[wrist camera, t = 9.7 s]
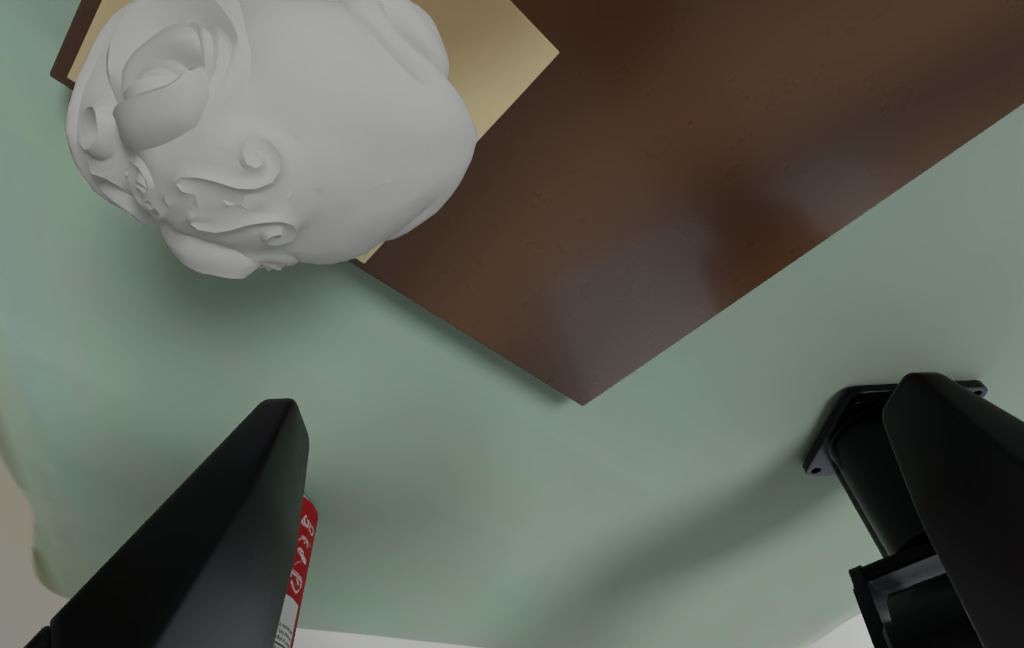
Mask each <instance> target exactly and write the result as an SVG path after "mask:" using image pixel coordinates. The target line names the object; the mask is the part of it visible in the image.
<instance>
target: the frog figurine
mask: <svg viewBox="0 0 1024 648" xmlns="http://www.w3.org/2000/svg"><path fill="white" fill-rule="evenodd" d="M448 75H449V60H448V56H447V52H446V50H445V47H444V44H443V41H442V39H441V36H440V34H439V32H438V29H437V27H436V24H435V23H434V21H433V20H432V18H431V17H430V15H429V14H428V13H426V12H425V11H424V10H423V9H422V8H421V7H420V6H418V5H416V4H414V3H413V2H411V1H410V0H132V1H131V2H130V3H128V4H127V5H125V6H124V7H123V8H121V9H120V10H118V11H117V12H115V13H114V14H113V15H112V16H111V17H110V19H109V20H108V21H107V23H106V24H105V25H104V27H103V28H102V29H101V31H100V32H99V34H98V36H97V38H96V39H95V41H94V43H93V45H92V46H91V48H90V50H89V53H88V55H87V58H86V60H85V63H84V65H83V67H82V69H81V71H80V73H79V75H78V77H77V79H76V83H75V86H74V89H73V93H72V96H71V99H70V102H69V106H68V109H67V117H66V127H65V132H66V136H67V140H68V144H69V148H70V152H71V155H72V157H73V160H74V162H75V164H76V166H77V168H78V169H79V171H80V172H81V174H82V175H83V176H84V178H85V179H86V181H87V182H88V183H89V185H90V186H91V188H92V189H93V191H94V192H96V193H97V194H99V195H100V196H101V197H103V198H104V199H106V200H107V201H108V202H110V203H111V204H113V205H115V206H117V207H119V208H121V209H123V210H125V211H127V212H129V213H130V214H131V215H132V216H133V217H135V218H136V219H137V220H138V221H140V222H141V223H142V224H143V225H145V224H147V223H150V222H152V223H155V224H157V226H158V228H159V229H160V231H161V234H162V237H163V239H164V241H165V242H166V244H167V245H168V247H169V248H170V250H171V251H172V252H173V254H174V255H175V256H176V257H177V258H178V259H179V260H180V261H181V262H182V263H183V264H184V265H185V266H187V267H189V268H191V269H193V270H195V271H197V272H199V273H203V274H209V275H214V276H219V277H224V278H231V279H243V278H245V277H247V276H248V275H250V274H251V273H252V272H253V271H254V270H256V269H257V268H259V269H261V268H265V269H266V270H267V271H270V270H272V269H276V270H279V271H280V270H281V269H282V268H283V267H290V266H294V265H295V264H296V263H298V262H299V261H300V262H303V263H305V264H312V263H313V264H321V265H325V264H336V263H338V262H345V261H348V260H350V259H355V258H357V257H358V256H361V255H365V254H367V253H368V252H369V251H370V250H371V249H373V248H375V247H377V246H378V245H379V244H381V243H383V242H384V241H387V240H393V239H396V238H398V237H400V236H402V235H404V234H406V233H408V232H409V231H411V230H412V229H414V228H415V227H417V226H418V225H420V224H421V223H423V222H424V221H426V220H427V219H428V218H430V217H431V216H432V215H434V214H435V213H437V212H438V210H439V209H440V208H441V207H442V206H443V205H444V204H445V202H446V201H447V200H448V199H449V198H450V197H451V196H452V194H453V193H454V191H455V190H456V189H457V187H458V186H459V184H460V183H461V181H462V179H463V177H464V175H465V173H466V171H467V168H468V166H469V164H470V162H471V160H472V157H473V153H474V149H475V146H476V142H477V139H478V134H477V130H476V126H475V124H474V122H473V120H472V117H471V115H470V113H469V111H468V109H467V106H466V104H465V102H464V101H463V99H462V98H461V96H460V95H459V94H458V92H457V91H456V90H455V88H454V87H453V85H452V84H451V83H450V82H449V81H448Z"/></svg>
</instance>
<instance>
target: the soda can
mask: <svg viewBox="0 0 1024 648" xmlns="http://www.w3.org/2000/svg"><path fill="white" fill-rule="evenodd" d="M317 521H318V513H317V511H316V509H315V507H314V505H313V504H312V503H311V502H310V501H309V499H308V498H307V497H306V496H305V495H304V494H303V503H302V511H301V519H300V527H299V535H298V542H297V549H296V553H295V558H294V563H293V567H292V571H291V575H290V580H289V584H288V588H287V592H286V596H285V600H284V604H283V608H282V613H281V617H280V621H279V625H278V629H277V633H276V637H275V642H274V646H273V648H292V647H293V642H294V637H295V632H296V627H297V622H298V617H299V612H300V607H301V602H302V597H303V592H304V587H305V582H306V577H307V571H308V566H309V561H310V556H311V551H312V546H313V541H314V536H315V531H316V526H317Z"/></svg>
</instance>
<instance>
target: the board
mask: <svg viewBox="0 0 1024 648" xmlns="http://www.w3.org/2000/svg"><path fill="white" fill-rule="evenodd" d="M131 1H132V0H81V2H80V5H79V7H78V9H77V11H76V14H75V16H74V18H73V21H72V23H71V25H70V28H69V30H68V32H67V35H66V37H65V39H64V41H63V44H62V46H61V48H60V51H59V53H58V55H57V58H56V60H55V62H54V65H53V67H52V69H51V71H50V76H51V77H53V78H54V79H56V80H57V81H59V82H61V83H62V84H64V85H65V86H67V87H69V88H70V89H72V90H73V89H74V86H75V83H76V79H77V77H78V75H79V73H80V71H81V69H82V67H83V65H84V63H85V60H86V58H87V55H88V53H89V50H90V48H91V46H92V45H93V43H94V41H95V39H96V38H97V36H98V34H99V32H100V31H101V29H102V28H103V27H104V25H105V24H106V23H107V21H108V20H109V19H110V17H111V16H112V15H113V14H114V13H115V12H117V11H118V10H120V9H121V8H123V7H124V6H125V5H127V4H128V3H130V2H131ZM410 1H411V2H413V3H414V4H416V5H418V6H420V7H421V8H422V9H423V10H424V11H425V12H426V13H428V14H429V15H430V17H431V18H432V20H433V21H434V23H435V24H436V27H437V29H438V32H439V34H440V36H441V39H442V41H443V44H444V47H445V50H446V52H447V56H448V60H449V75H448V81H449V82H450V83H451V84H452V85H453V87H454V88H455V90H456V91H457V92H458V94H459V95H460V96H461V98H462V99H463V101H464V102H465V104H466V106H467V109H468V111H469V113H470V115H471V117H472V120H473V122H474V124H475V126H476V130H477V134H478V139H477V142H476V146H475V149H474V153H473V157H472V160H471V162H470V164H469V166H468V168H467V171H466V173H465V175H464V177H463V179H462V181H461V183H460V184H459V186H458V187H457V189H456V190H455V191H454V193H453V194H452V196H451V197H450V198H449V199H448V200H447V201H446V202H445V204H444V205H443V206H442V207H441V208H440V209H439V210H438V212H437V213H435V214H434V215H432V216H431V217H430V218H428V219H427V220H426V221H424V222H423V223H421V224H420V225H418V226H417V227H415V228H414V229H412V230H411V231H409V232H408V233H406V234H404V235H402V236H400V237H398V238H396V239H393V240H387V241H384V242H383V243H381V244H379V245H378V246H377V247H375V248H373V249H371V250H370V251H369V252H368V253H367V254H365V255H361V256H358V257H357V258H355V259H350V260H348V261H350V262H351V263H353V264H354V265H356V266H358V267H359V268H361V269H363V270H364V271H366V272H367V273H369V274H371V275H372V276H374V277H375V278H377V279H379V280H380V281H382V282H383V283H385V284H387V285H388V286H390V287H392V288H393V289H395V290H396V291H398V292H400V293H401V294H403V295H404V296H406V297H408V298H409V299H411V300H413V301H414V302H416V303H417V304H419V305H421V306H422V307H424V308H425V309H427V310H429V311H430V312H432V313H434V314H435V315H437V316H438V317H440V318H442V319H443V320H445V321H446V322H448V323H450V324H451V325H453V326H455V327H456V328H458V329H459V330H461V331H463V332H464V333H466V334H467V335H469V336H471V337H472V338H474V339H476V340H477V341H479V342H480V343H482V344H484V345H485V346H487V347H488V348H490V349H492V350H493V351H495V352H496V353H498V354H500V355H501V356H503V357H505V358H506V359H508V360H509V361H511V362H513V363H514V364H516V365H517V366H519V367H521V368H522V369H524V370H526V371H527V372H529V373H530V374H532V375H534V376H535V377H537V378H538V379H540V380H542V381H543V382H545V383H547V384H548V385H550V386H551V387H553V388H555V389H556V390H558V391H559V392H561V393H563V394H564V395H566V396H568V397H569V398H571V399H572V400H574V401H576V402H577V403H579V404H580V405H582V406H584V405H585V404H587V403H588V402H590V401H591V400H593V399H594V398H596V397H597V396H599V395H600V394H602V393H603V392H604V391H606V390H607V389H609V388H610V387H612V386H613V385H615V384H616V383H618V382H619V381H620V380H622V379H623V378H625V377H626V376H628V375H629V374H631V373H632V372H634V371H635V370H636V369H638V368H639V367H641V366H642V365H644V364H645V363H647V362H648V361H650V360H651V359H652V358H654V357H655V356H657V355H658V354H660V353H661V352H663V351H664V350H666V349H667V348H668V347H670V346H671V345H673V344H674V343H676V342H677V341H679V340H680V339H682V338H683V337H684V336H686V335H687V334H689V333H690V332H692V331H693V330H695V329H696V328H698V327H699V326H700V325H702V324H703V323H705V322H706V321H708V320H709V319H711V318H712V317H714V316H715V315H716V314H718V313H719V312H721V311H722V310H724V309H725V308H727V307H728V306H730V305H731V304H732V303H734V302H735V301H737V300H738V299H740V298H741V297H743V296H744V295H746V294H747V293H749V292H750V291H751V290H753V289H754V288H756V287H757V286H759V285H760V284H762V283H763V282H765V281H766V280H767V279H769V278H770V277H772V276H773V275H775V274H776V273H778V272H779V271H781V270H782V269H783V268H785V267H786V266H788V265H789V264H791V263H792V262H794V261H795V260H797V259H798V258H799V257H801V256H802V255H804V254H805V253H807V252H808V251H810V250H811V249H813V248H814V247H815V246H817V245H818V244H820V243H821V242H823V241H824V240H826V239H827V238H829V237H830V236H831V235H833V234H834V233H836V232H837V231H839V230H840V229H842V228H843V227H845V226H846V225H847V224H849V223H850V222H852V221H853V220H855V219H856V218H858V217H859V216H861V215H862V214H863V213H865V212H866V211H868V210H869V209H871V208H872V207H874V206H875V205H877V204H878V203H879V202H881V201H882V200H884V199H885V198H887V197H888V196H890V195H891V194H893V193H894V192H896V191H897V190H898V189H900V188H901V187H903V186H904V185H906V184H907V183H909V182H910V181H912V180H913V179H914V178H916V177H917V176H919V175H920V174H922V173H923V172H925V171H926V170H928V169H929V168H930V167H932V166H933V165H935V164H936V163H938V162H939V161H941V160H942V159H944V158H945V157H946V156H948V155H949V154H951V153H952V152H954V151H955V150H957V149H958V148H960V147H961V146H962V145H964V144H965V143H967V142H968V141H970V140H971V139H973V138H974V137H976V136H977V135H978V134H980V133H981V132H983V131H984V130H986V129H987V128H989V127H990V126H992V125H993V124H994V123H996V122H997V121H999V120H1000V119H1002V118H1003V117H1005V116H1006V115H1008V114H1009V113H1010V112H1012V111H1013V110H1015V109H1016V108H1018V107H1019V106H1021V105H1022V104H1024V0H410Z"/></svg>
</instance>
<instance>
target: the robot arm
mask: <svg viewBox="0 0 1024 648" xmlns="http://www.w3.org/2000/svg"><path fill="white" fill-rule="evenodd" d="M987 391H988V389H987V388H986V387H985V385H984V384H983V383H982V382H981V381H978V380H970V381H953V380H951V379H949V378H948V377H946V376H944V375H942V374H940V373H936V372H919V373H909V374H907V375H906V376H904V377H903V379H902V380H901V381H900V383H899V384H885V385H863V386H855V387H852V388H850V389H849V390H847V391H846V392H845V393H844V395H843V397H842V398H841V400H840V402H839V404H838V405H837V407H836V409H835V410H834V412H833V414H832V416H831V417H830V419H829V421H828V423H827V424H826V426H825V428H824V429H823V431H822V433H821V435H820V436H819V438H818V440H817V441H816V443H815V445H814V447H813V448H812V450H811V452H810V453H809V455H808V457H807V459H806V460H805V462H804V464H803V468H804V470H805V472H806V474H807V475H808V476H824V475H837V477H838V478H839V480H840V482H841V484H842V485H843V487H844V489H845V491H846V493H847V494H848V496H849V498H850V500H851V501H852V503H853V505H854V507H855V509H856V510H857V512H858V514H859V516H860V517H861V519H862V521H863V523H864V524H865V526H866V528H867V530H868V532H869V533H870V535H871V537H872V539H873V540H874V542H875V544H876V546H877V548H878V549H879V551H880V553H881V555H882V556H883V559H880V560H878V561H876V562H873V563H871V564H868V565H866V566H863V567H862V566H857V567H855V568H853V569H850V570H849V574H850V577H851V579H852V582H853V585H854V586H853V587H854V589H853V591H854V594H855V597H856V600H857V602H858V605H859V608H860V610H861V613H862V616H863V618H864V621H865V623H866V626H867V629H868V632H869V634H870V637H871V640H872V643H873V645H874V648H1024V422H1023V421H1021V420H1019V419H1018V418H1016V417H1014V416H1013V415H1011V414H1009V413H1007V412H1006V411H1004V410H1002V409H1001V408H999V407H997V406H995V405H994V404H992V403H990V402H989V401H987V400H985V399H984V398H983V397H984V396H985V395H986V393H987ZM308 453H309V437H308V433H307V430H306V427H305V424H304V422H303V419H302V416H301V413H300V411H299V408H298V405H297V403H296V402H295V401H294V400H293V399H290V398H284V399H267V400H264V401H263V402H261V403H260V404H259V405H258V406H257V407H256V408H255V409H254V410H253V411H252V412H251V413H250V414H249V415H248V416H247V417H246V418H245V419H244V420H243V421H242V422H241V423H240V424H239V426H238V427H237V428H236V429H235V430H234V431H233V432H232V433H231V434H230V435H229V436H228V437H227V438H226V439H225V440H224V441H223V442H222V443H221V444H220V445H219V446H218V447H217V448H216V449H215V450H214V451H213V452H212V453H211V455H210V456H209V457H208V458H207V459H206V460H205V461H204V462H203V463H202V464H201V465H200V466H199V467H198V468H197V469H196V470H195V471H194V472H193V473H192V474H191V475H190V476H189V477H188V478H187V479H186V480H185V481H184V482H183V484H182V485H181V486H180V487H179V488H178V489H177V490H176V491H175V492H174V493H173V494H172V495H171V496H170V497H169V498H168V499H167V500H166V501H165V502H164V503H163V504H162V505H161V506H160V507H159V508H158V509H157V510H156V511H155V513H154V514H153V515H152V516H151V517H150V518H149V519H148V520H147V521H146V522H145V523H144V524H143V525H142V526H141V527H140V528H139V529H138V530H137V531H136V532H135V533H134V534H133V535H132V536H131V537H130V538H129V539H128V540H127V542H126V543H125V544H124V545H123V546H122V547H121V548H120V549H119V550H118V551H117V552H116V553H115V554H114V555H113V556H112V557H111V558H110V559H109V560H108V561H107V562H106V563H105V564H104V565H103V566H102V567H101V568H100V569H99V571H98V572H97V573H96V574H95V575H94V576H93V577H92V578H91V579H90V580H89V581H88V582H87V583H86V584H85V585H84V586H83V587H82V588H81V589H80V590H79V591H78V592H77V593H76V594H75V595H74V596H73V597H72V598H71V600H70V601H69V602H68V603H67V604H66V605H65V606H64V607H63V608H62V609H61V610H60V611H59V612H58V613H57V614H56V615H55V616H54V617H53V618H52V619H51V621H50V626H45V627H44V628H42V629H41V630H40V631H39V632H38V633H37V635H35V636H34V637H33V639H32V640H31V641H30V642H29V643H28V644H27V645H26V646H25V647H24V648H273V646H274V642H275V637H276V633H277V629H278V625H279V621H280V617H281V613H282V608H283V604H284V600H285V596H286V592H287V588H288V584H289V580H290V575H291V571H292V567H293V563H294V558H295V553H296V549H297V542H298V535H299V527H300V519H301V511H302V503H303V494H304V486H305V478H306V470H307V461H308Z"/></svg>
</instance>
